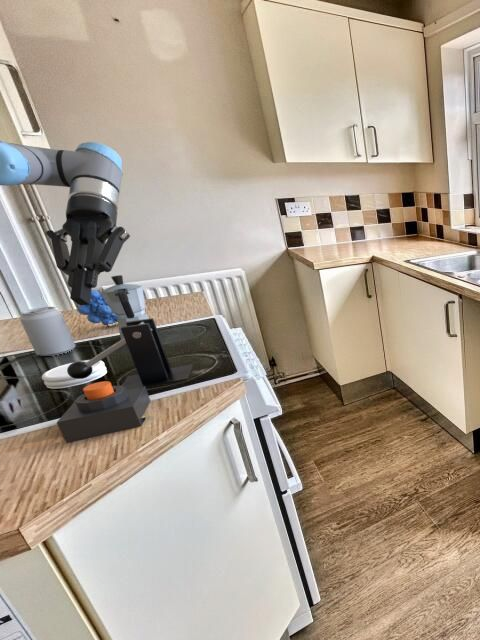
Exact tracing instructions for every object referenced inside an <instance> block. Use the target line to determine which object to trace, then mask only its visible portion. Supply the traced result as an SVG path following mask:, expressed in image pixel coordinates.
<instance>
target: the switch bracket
mask: <svg viewBox="0 0 480 640" xmlns="http://www.w3.org/2000/svg"><path fill="white" fill-rule="evenodd" d="M141 322H144V323H145V324H139V323H141ZM126 324H127V326H125V327H121V331H122V333H123V336H124V338H125V341H126V346H127V348H128V351H129V353H130V357H131V359H132V362H133V364H134V366H135V370H136V373H137V374H133V375H128V376H127V377H126V378H125V380H124V381H123V383H122V384H121V386H123V387H124V388H125V389H126V390H129V389H134V388H139V387H146V389H147V388H152V387H156V386H161V385H166V384H167V385H168V384H172V383H176V382H182V381H187V380H189V378H190V376H191V373H192V371H193V368H194V366H195V365H194V364H193V363H192V364H187V365H181V366H176V367H171V365H170V362H169V358H168V355H167V353H166V350H165V347H164V345H163V342H162V339H161V336H160V333H159V331H158V328H157V325H156V323H155V319H154V318H153V317H151V318H149V319H143V320H136V321H129V322H127V323H126ZM138 324H139V325H138ZM151 329H152V330H151Z"/></svg>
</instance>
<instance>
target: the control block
mask: <svg viewBox="0 0 480 640" xmlns="http://www.w3.org/2000/svg"><path fill="white" fill-rule="evenodd" d="M112 388H113V390H114V393H113V394H111V395H109V396H106V397H103V398H99V399H94V400H87V398H86V395H85V393H82V394H80V395H79V396H77V397H76V399H74V402H73V403H72V404H71V405H70V406H69V407H68V409H67V410H66V411H65V412H64V413H63V414H62V415H61V417H59V419H58V420H57V421H56V424H57V426H58V428H59V430H60V433H61V434H62V437H63V439H64V441H65V443H66V444H71V443H75V442H79V441H84V440H89V439H93V438H96V437H102V436H105V435H110V434H114V433H118V432H122V431H123V432H124V431H128V430H132V429H136V428H142V426H143V424H144V423H145V421H146V416H145V417H143V416H144V414H145V413H146V411H147V409H148V407H149V405H150V403H151V398H150V395H149V392H148V390H147V388H146V387H139V388H134V389H129V390H126V389H125V388H124V387H123V386H122V385H112Z"/></svg>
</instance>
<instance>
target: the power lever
mask: <svg viewBox="0 0 480 640" xmlns="http://www.w3.org/2000/svg"><path fill="white" fill-rule="evenodd" d="M139 324H145V323H144V322H141V323H139ZM139 324H138V325H139ZM151 330H152V329H151ZM125 345H127V343H126V341H125V338H124V339H122V340H121V339H120V340H118V341H117V342H115V343H114V344H112V345H111V346H110V347H108V348H106V349H105V350H103V351H102V352H100V353H99V354H97V355H95V356H94V357H93V358H91V359H88V360H89V361H88V362H83V361H84V360H78V361H73V362H74V363H73V362H71V363H72V364H70V365H69V366H68V368H67V373H68V375H69V376H71V377H72V378H75V379H83V378H86V377H88V376H89V375H90V374H91V373H92V366H93V365H94V364H96V363H97V362H99V361H103V359H105V358H107V357H108V356H110V355H111V354H113V353H114V352H116V351H117V350H119V349H120V348H122V347H123V346H125Z"/></svg>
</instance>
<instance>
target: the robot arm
mask: <svg viewBox="0 0 480 640" xmlns="http://www.w3.org/2000/svg"><path fill="white" fill-rule="evenodd" d="M123 175H124V173H123V160H122V158H121V156H120V155H119V153H118V152H117V151H115V150H114V149H113V148H111V147H110V146H108V145H106V144H103V143H99V142H97V141H96V142H95V141H87V142H82V143H79V144H78V146H77V147H76V149H75V150H68V149H54V148H47V147H40V146H32V145H26V144H18V143H13V142H6V141H2V140H0V186H14V185H17V186H18V185H25V186H27V185H28V186H31V185H33V186H34V185H35V186H38V185H39V186H51V187H63V188H69V190H68V197H67V203H66V204H67V205H66V209H65V219H66V221H65V222H64V223H63V224H62V226H61V228H60V229H58V230H56V231H54V230H52V229H48V230H46V232H45V234H46V236H47V237H48V238H49V239H50V241H51V245H52V251H53V256H54V259H55V265H56V268H57V269H58V270H60V271H61V272H62V273H64V274H65V275H66V276H68V277H67V278H68V279H67V283H66V284H67V286H68V287H69V288H71V290H70V296H69V297H70V298H69V299H70V300H72V301H73V302H74V303H76V304H77V305H78V306H81V305H89V304H90V297H91V290H93V289H95V288H97V286H98V280H99V276H100V274H102V273H104V272H105V273H110V272H112V270H113V267H114V266H115V263H116V261H117V259H118V256H119V254H120V252H121V250H122V248H123V245H124V244H125V243H126V242H127V241H128V240H129V238H130V237H131V235H130V234H129V232H127V230H126V229H125V228H124V226H117V220H118V210H119V201H120V192H121V184H122V178H123ZM67 236H69V237H70V241H71V246H70V251H69V246H68V244H67V243H68V238H67Z"/></svg>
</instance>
